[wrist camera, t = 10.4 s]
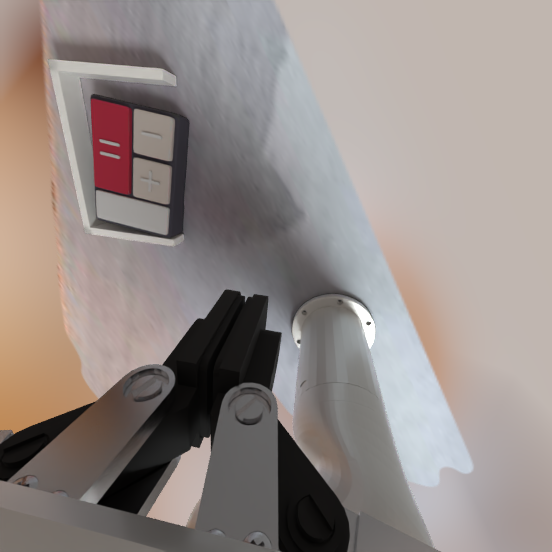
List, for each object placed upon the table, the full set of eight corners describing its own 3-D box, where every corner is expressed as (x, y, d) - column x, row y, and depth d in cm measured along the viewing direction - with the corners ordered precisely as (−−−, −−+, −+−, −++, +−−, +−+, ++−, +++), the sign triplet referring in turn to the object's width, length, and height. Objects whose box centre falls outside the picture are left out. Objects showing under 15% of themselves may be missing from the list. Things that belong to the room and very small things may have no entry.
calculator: (176, 112, 29) (168, 240, 35) (193, 119, 33) (183, 233, 39) (84, 90, 30) (91, 220, 36) (111, 100, 34) (113, 215, 40)
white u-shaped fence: (184, 240, 39) (174, 246, 37) (100, 228, 41) (84, 233, 38) (176, 76, 31) (162, 68, 28) (70, 67, 32) (47, 59, 29)
